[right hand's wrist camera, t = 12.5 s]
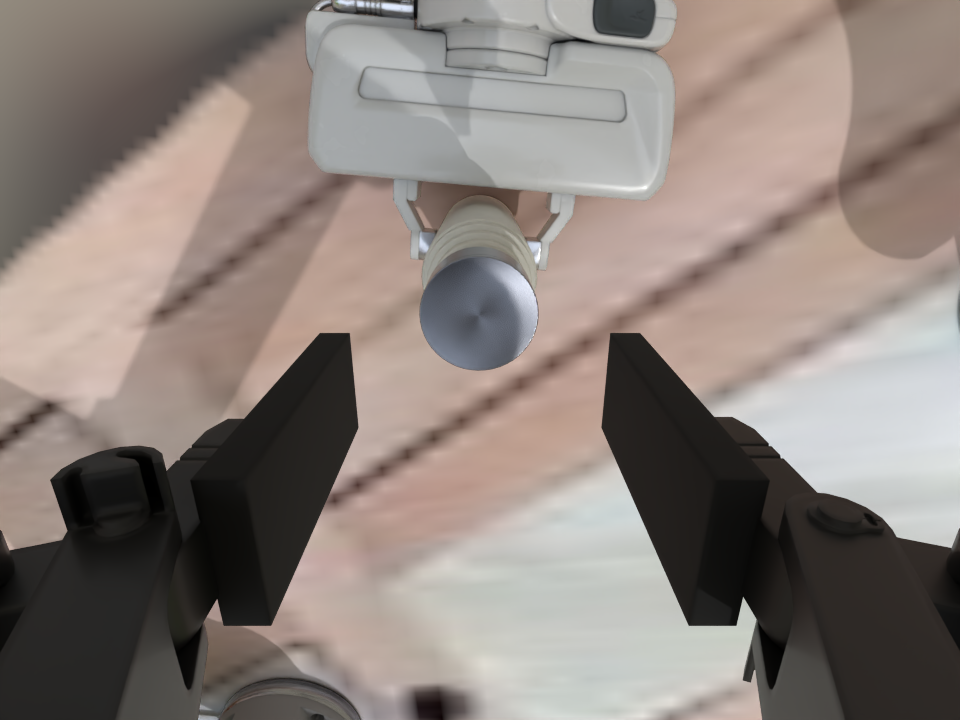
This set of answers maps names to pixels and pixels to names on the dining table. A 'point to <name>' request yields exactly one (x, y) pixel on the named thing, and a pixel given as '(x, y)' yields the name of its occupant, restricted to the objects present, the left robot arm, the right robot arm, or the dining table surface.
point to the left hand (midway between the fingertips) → (479, 263)
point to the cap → (479, 309)
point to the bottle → (479, 234)
